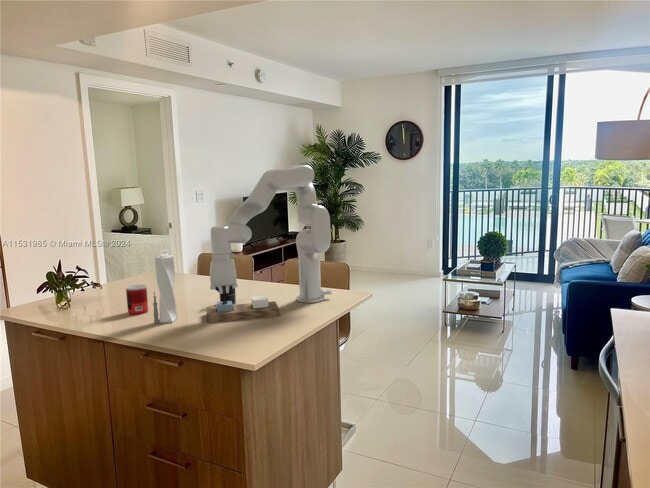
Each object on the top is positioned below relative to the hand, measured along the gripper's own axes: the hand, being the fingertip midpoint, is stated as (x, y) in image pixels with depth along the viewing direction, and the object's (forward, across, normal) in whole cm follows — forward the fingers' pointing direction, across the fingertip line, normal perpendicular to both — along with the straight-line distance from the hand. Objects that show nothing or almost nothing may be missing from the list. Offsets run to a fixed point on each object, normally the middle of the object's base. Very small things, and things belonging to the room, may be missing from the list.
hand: (224, 302), depth 190 cm
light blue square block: (+3, 0, 0) cm, 3 cm away
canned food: (+6, +35, -18) cm, 40 cm away
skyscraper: (+6, +22, -2) cm, 23 cm away
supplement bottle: (+6, -2, -20) cm, 21 cm away
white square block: (+3, -14, 0) cm, 14 cm away
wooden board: (+6, -7, 0) cm, 9 cm away
